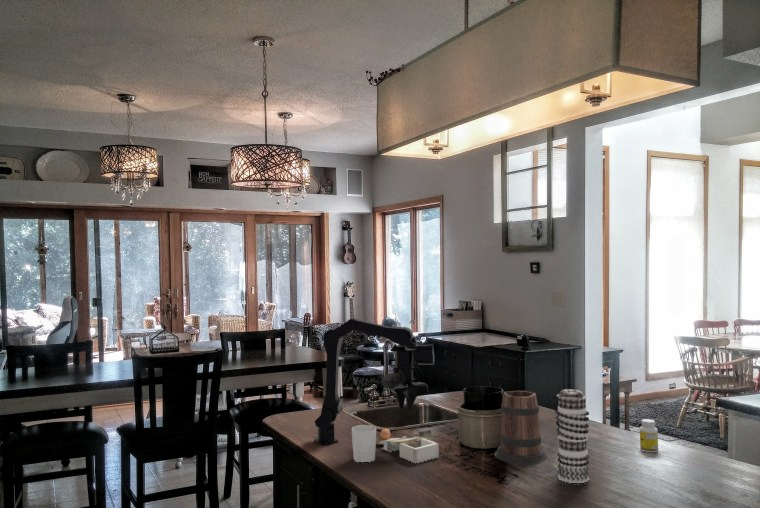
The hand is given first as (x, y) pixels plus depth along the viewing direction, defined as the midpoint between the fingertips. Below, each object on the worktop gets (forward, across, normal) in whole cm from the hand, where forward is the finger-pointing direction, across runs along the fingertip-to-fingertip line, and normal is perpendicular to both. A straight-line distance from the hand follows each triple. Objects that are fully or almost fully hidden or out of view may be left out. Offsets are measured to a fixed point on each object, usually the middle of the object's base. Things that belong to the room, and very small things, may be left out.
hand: (405, 409), depth 202 cm
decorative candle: (+12, +55, +18) cm, 59 cm away
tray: (+12, +14, -5) cm, 19 cm away
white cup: (+12, +4, -20) cm, 24 cm away
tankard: (+12, +30, +25) cm, 41 cm away
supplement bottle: (+12, +54, +59) cm, 81 cm away
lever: (+10, +1, -1) cm, 10 cm away
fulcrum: (+12, +1, -5) cm, 13 cm away
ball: (+9, -5, -5) cm, 11 cm away
